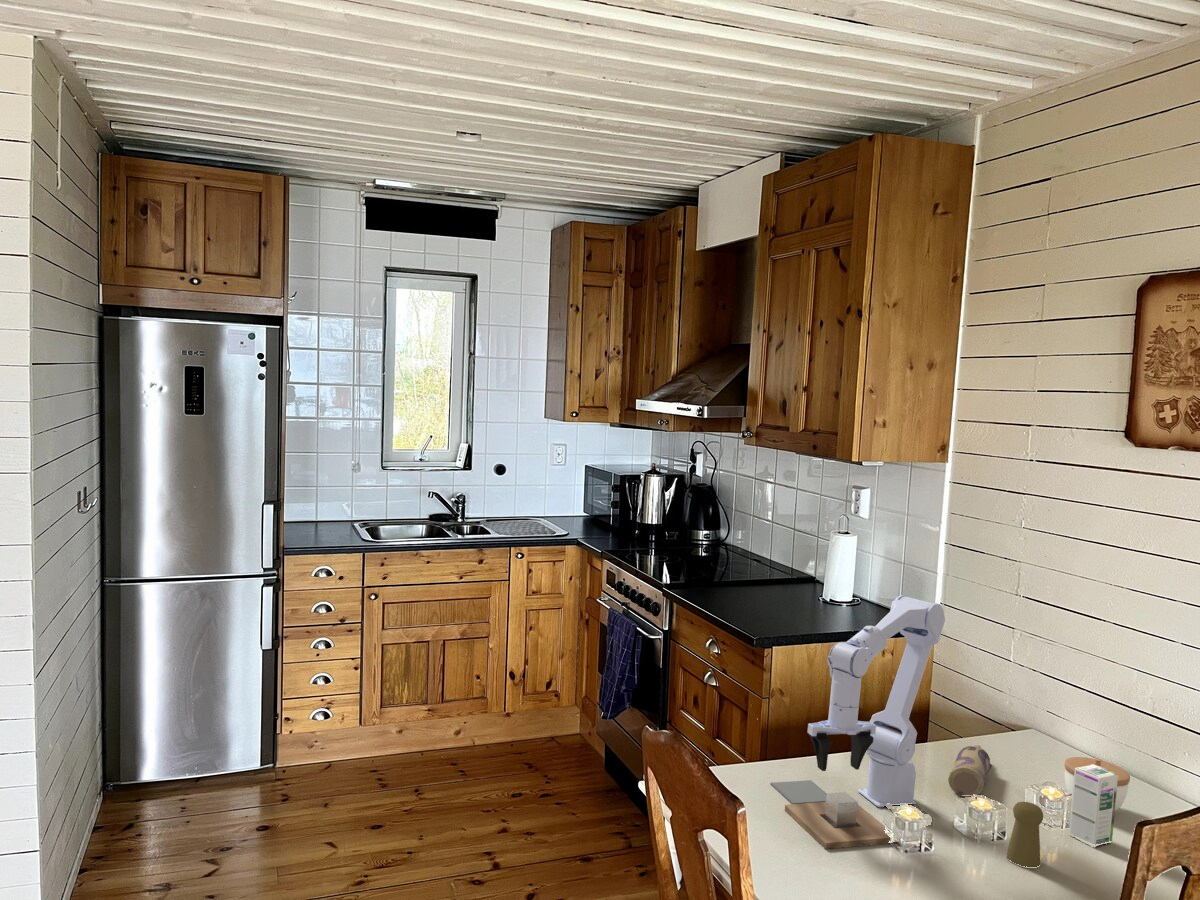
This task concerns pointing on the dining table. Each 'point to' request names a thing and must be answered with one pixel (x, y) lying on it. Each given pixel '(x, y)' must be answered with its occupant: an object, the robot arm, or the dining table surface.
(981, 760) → the decorative bottle
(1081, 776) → the syrup box
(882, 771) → the robot arm
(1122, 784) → the lidded bowl
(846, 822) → the steel plug
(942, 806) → the dining table surface
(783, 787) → the gray square plate
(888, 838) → the walnut hole plate
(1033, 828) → the olive pawn figure
